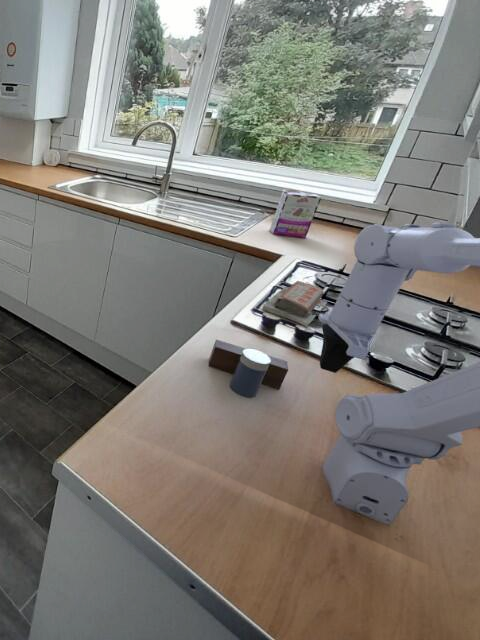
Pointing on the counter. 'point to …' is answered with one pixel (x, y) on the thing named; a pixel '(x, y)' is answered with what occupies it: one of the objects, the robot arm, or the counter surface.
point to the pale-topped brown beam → (228, 358)
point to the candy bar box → (295, 214)
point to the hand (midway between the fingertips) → (327, 368)
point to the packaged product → (296, 302)
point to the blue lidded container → (249, 373)
